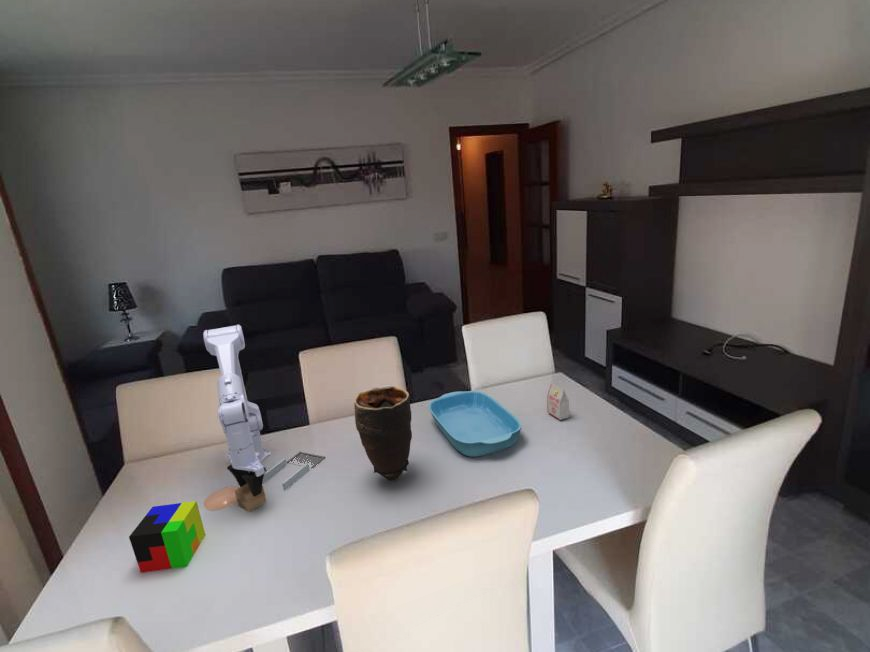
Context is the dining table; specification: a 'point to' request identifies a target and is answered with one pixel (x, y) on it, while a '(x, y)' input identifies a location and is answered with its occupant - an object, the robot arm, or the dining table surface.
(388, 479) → the clay pot
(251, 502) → the walnut block
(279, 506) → the dining table surface
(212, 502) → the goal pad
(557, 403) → the milk carton
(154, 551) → the puzzle toy
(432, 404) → the casserole dish
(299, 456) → the tray
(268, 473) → the grey parallel rails
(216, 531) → the dining table surface
